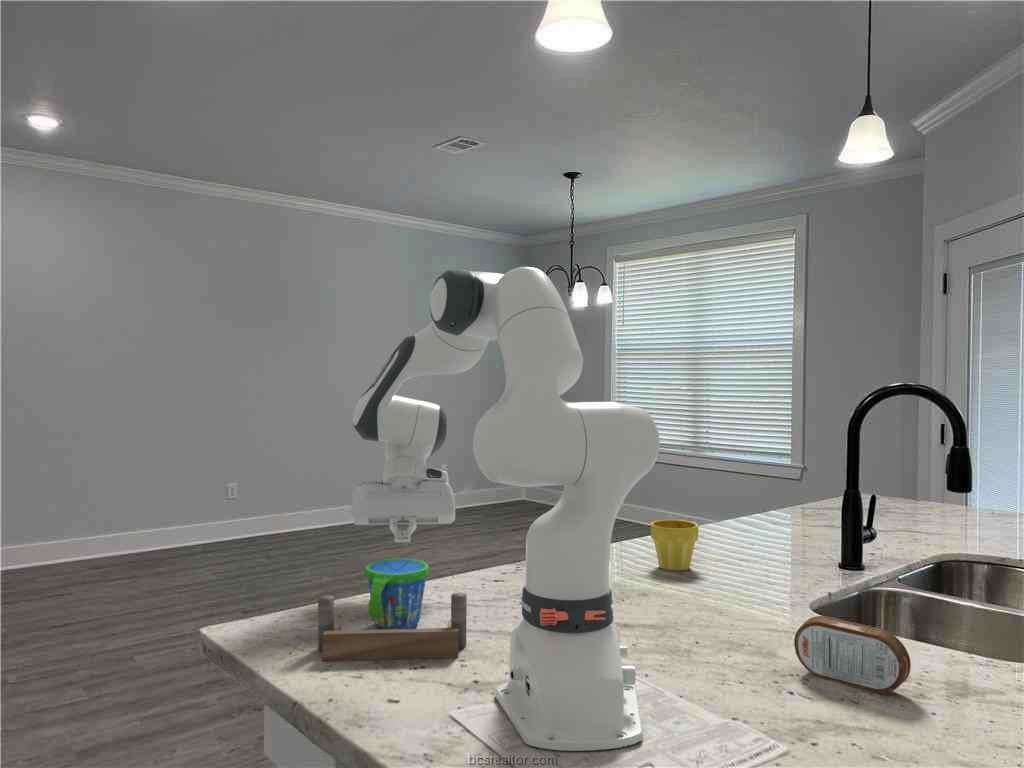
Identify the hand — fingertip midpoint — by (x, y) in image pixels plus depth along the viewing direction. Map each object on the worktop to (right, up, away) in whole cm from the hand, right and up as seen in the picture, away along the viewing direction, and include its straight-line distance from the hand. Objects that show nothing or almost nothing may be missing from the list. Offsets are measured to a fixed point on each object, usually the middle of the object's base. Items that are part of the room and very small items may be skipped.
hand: (402, 540), depth 145 cm
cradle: (+2, -11, -26) cm, 28 cm away
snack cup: (+1, -11, -15) cm, 19 cm away
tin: (+68, -12, -38) cm, 79 cm away
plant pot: (+57, -11, +25) cm, 63 cm away
